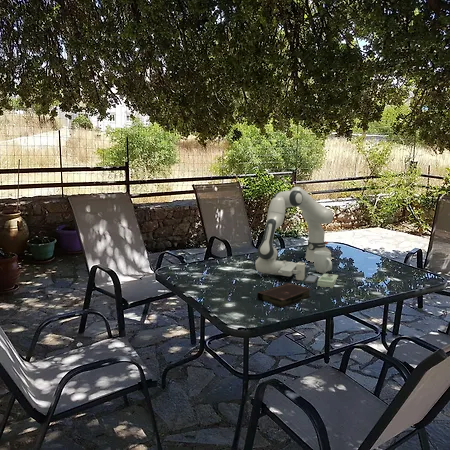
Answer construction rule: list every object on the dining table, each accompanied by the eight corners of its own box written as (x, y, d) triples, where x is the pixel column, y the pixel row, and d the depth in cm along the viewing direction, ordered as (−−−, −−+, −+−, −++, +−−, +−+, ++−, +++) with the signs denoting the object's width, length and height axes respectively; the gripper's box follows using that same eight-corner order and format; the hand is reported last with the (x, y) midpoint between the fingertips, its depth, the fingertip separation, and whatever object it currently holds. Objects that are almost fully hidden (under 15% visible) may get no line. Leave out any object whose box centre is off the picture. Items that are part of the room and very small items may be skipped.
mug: (337, 274, 286) (338, 255, 284) (324, 276, 281) (325, 256, 279) (323, 268, 299) (323, 250, 297) (309, 270, 294) (310, 251, 292)
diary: (256, 300, 239) (256, 291, 239) (285, 290, 256) (286, 281, 255) (283, 309, 226) (283, 299, 225) (312, 297, 243) (312, 289, 242)
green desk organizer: (323, 276, 282) (323, 271, 281) (337, 278, 278) (338, 272, 278) (317, 286, 262) (317, 280, 261) (332, 288, 258) (333, 282, 258)
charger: (297, 277, 279) (298, 260, 277) (304, 278, 277) (305, 261, 275) (295, 279, 275) (296, 262, 273) (303, 280, 273) (303, 262, 271)
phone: (308, 276, 280) (308, 274, 280) (318, 278, 278) (318, 276, 278) (304, 282, 268) (304, 280, 268) (314, 283, 266) (314, 281, 266)
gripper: (276, 267, 270) (298, 269, 265) (284, 259, 288) (305, 261, 283) (275, 277, 271) (298, 280, 266) (284, 268, 289) (305, 271, 284)
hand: (301, 270), depth 275 cm, fingers open, 6 cm apart
